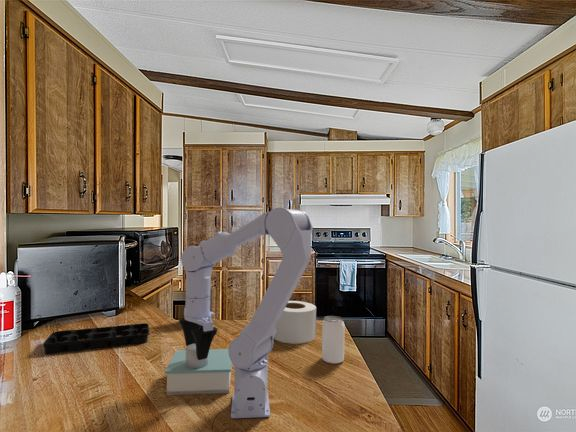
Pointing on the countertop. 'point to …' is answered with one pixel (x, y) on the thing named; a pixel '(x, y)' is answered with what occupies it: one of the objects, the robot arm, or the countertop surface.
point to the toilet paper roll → (296, 323)
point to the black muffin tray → (96, 338)
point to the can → (333, 339)
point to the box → (198, 383)
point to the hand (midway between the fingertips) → (196, 353)
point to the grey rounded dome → (194, 358)
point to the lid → (216, 363)
